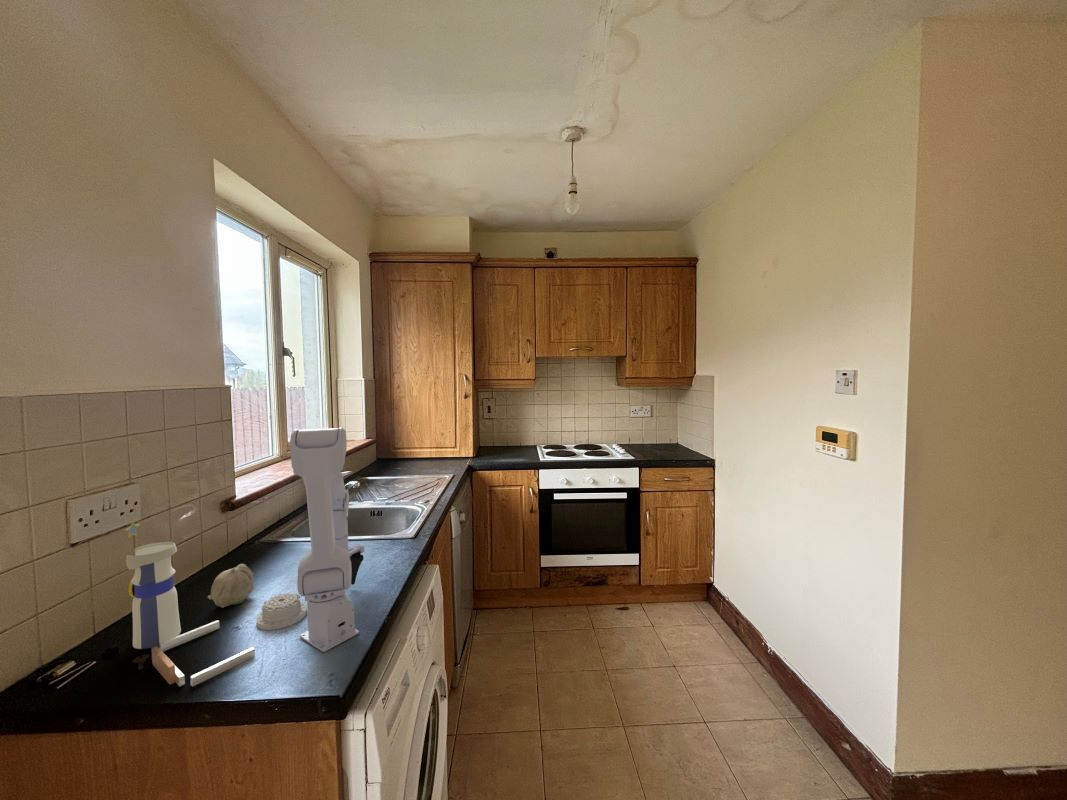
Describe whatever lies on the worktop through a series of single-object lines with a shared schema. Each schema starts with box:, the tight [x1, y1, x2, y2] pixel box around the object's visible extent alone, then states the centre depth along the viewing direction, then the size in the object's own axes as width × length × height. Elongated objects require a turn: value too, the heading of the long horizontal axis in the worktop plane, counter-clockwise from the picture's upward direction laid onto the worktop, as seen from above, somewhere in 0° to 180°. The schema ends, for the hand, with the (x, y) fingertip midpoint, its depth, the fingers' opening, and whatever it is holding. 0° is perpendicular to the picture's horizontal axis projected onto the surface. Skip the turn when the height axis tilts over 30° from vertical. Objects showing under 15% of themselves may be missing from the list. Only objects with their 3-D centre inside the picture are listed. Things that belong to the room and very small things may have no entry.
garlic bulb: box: [207, 563, 255, 609], centre depth 105 cm, size 9×8×10 cm
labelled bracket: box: [151, 620, 256, 687], centre depth 84 cm, size 18×12×3 cm
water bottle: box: [125, 521, 182, 650], centre depth 90 cm, size 8×9×25 cm
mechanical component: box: [255, 592, 308, 631], centre depth 98 cm, size 10×4×10 cm
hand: (337, 589), depth 108 cm, fingers open, 7 cm apart
